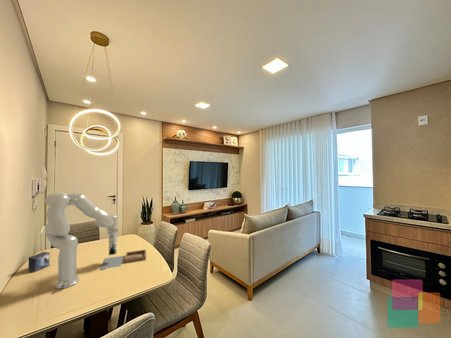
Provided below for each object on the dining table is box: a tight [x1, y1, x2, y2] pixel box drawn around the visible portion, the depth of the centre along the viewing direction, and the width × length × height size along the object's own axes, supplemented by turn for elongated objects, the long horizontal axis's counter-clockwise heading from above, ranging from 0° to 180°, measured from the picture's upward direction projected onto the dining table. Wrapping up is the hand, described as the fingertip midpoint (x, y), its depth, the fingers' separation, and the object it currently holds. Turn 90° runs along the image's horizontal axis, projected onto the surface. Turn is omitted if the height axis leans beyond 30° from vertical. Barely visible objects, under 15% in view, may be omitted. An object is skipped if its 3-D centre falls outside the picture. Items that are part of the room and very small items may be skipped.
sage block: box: [108, 243, 118, 256], centre depth 159 cm, size 5×5×7 cm
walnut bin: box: [123, 249, 147, 264], centre depth 167 cm, size 16×16×3 cm
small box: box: [27, 251, 51, 273], centre depth 150 cm, size 11×6×10 cm, turn 168°
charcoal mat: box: [99, 255, 125, 271], centre depth 159 cm, size 20×14×1 cm
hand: (113, 252), depth 159 cm, fingers closed on sage block, 5 cm apart
